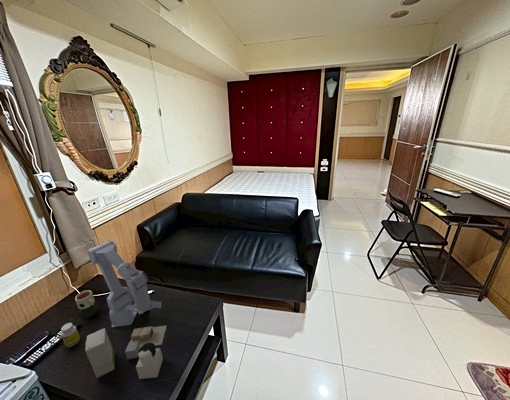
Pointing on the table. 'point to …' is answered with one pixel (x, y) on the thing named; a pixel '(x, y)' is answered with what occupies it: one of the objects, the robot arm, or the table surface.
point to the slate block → (132, 350)
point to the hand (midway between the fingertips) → (147, 320)
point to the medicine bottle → (149, 361)
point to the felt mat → (155, 336)
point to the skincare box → (100, 352)
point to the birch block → (142, 334)
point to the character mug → (86, 303)
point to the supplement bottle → (70, 335)
